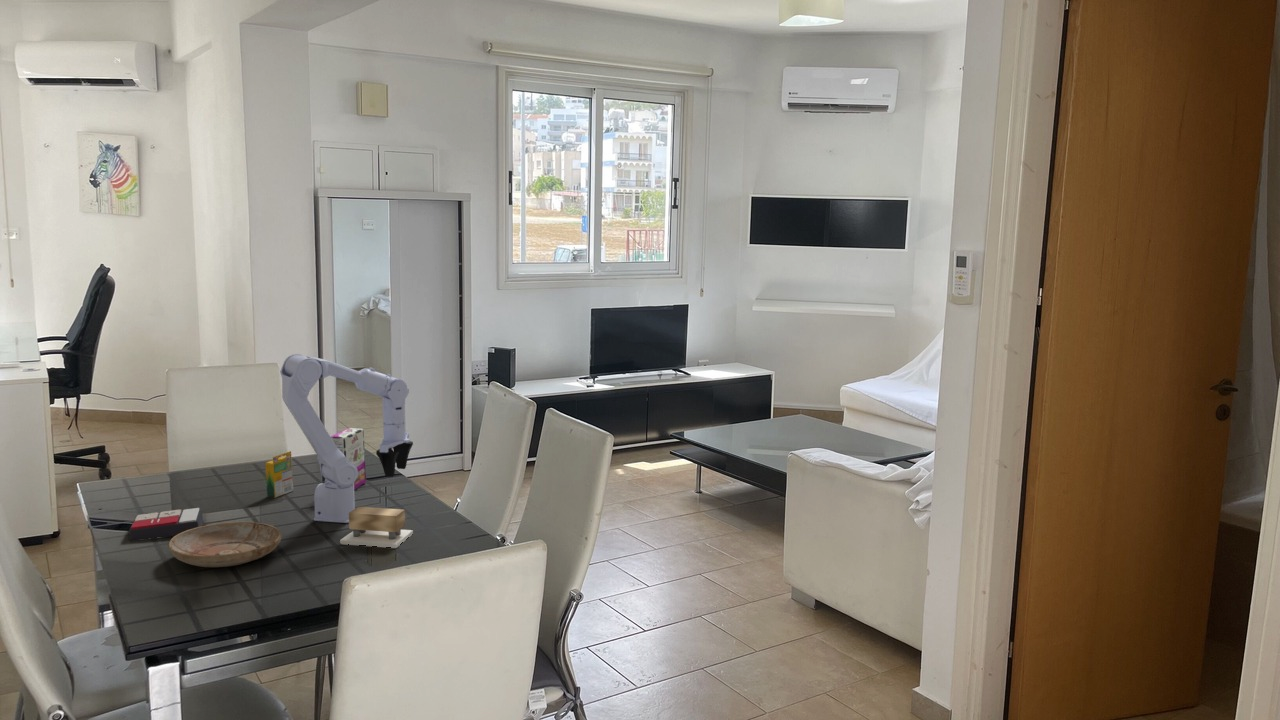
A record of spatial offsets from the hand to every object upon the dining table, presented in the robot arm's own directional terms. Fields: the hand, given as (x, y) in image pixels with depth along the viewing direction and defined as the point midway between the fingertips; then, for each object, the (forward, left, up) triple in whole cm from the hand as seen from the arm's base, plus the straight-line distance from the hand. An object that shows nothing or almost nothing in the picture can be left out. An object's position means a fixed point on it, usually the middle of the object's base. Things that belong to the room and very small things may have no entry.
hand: (395, 472), depth 251 cm
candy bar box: (-20, +13, -10) cm, 26 cm away
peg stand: (+6, -25, -9) cm, 27 cm away
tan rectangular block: (+6, -25, -6) cm, 27 cm away
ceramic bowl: (-22, -43, -10) cm, 49 cm away
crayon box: (-36, +4, -10) cm, 37 cm away
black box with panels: (-47, -29, -10) cm, 56 cm away
